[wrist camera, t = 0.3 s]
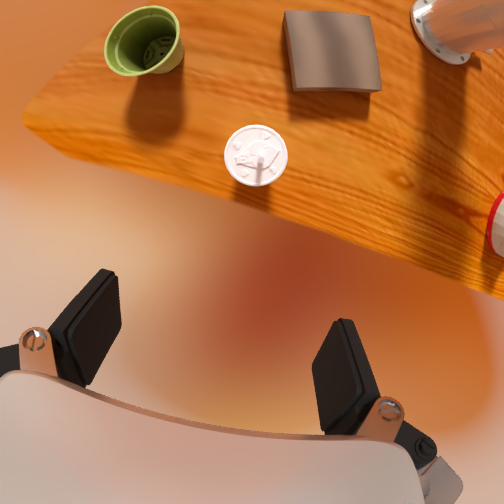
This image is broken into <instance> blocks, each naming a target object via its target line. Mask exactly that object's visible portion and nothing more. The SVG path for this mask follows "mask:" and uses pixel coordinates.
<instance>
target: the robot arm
mask: <svg viewBox="0 0 504 504" xmlns="http://www.w3.org/2000/svg"><path fill="white" fill-rule="evenodd" d="M411 21H412V24H413V27H414V30H415V32H416V33H417V35H418V37H419V38H420V40H421V41H422V43H423V44H424V45H425V46H426V48H427V49H428V50H429V51H430V52H431V53H432V54H433V55H435V56H436V57H437V58H439V59H440V60H442V61H444V62H446V63H449V64H453V65H458V64H463V63H465V62H467V61H468V59H469V58H470V56H471V53H472V52H478V51H483V52H485V53H487V54H491V53H492V49H497V48H504V0H417V1H416V2H415V3H414V4H413V5H412V7H411ZM121 323H122V322H121V312H120V300H119V286H118V277H117V276H115V273H114V272H113V271H109V270H106V269H101V270H99V272H98V273H97V274H96V275H95V276H94V277H93V278H92V279H91V280H90V281H89V282H88V283H87V285H86V286H85V287H84V288H83V289H82V290H81V291H80V293H79V294H78V295H76V296H75V298H74V299H73V300H72V301H71V302H70V303H69V305H68V306H67V307H66V308H65V309H64V310H63V312H62V313H61V314H60V315H59V316H58V318H57V319H56V320H55V321H54V323H53V324H52V325H51V326H50V327H49V329H48V330H45V329H44V328H40V327H32V328H29V329H27V330H26V331H25V332H23V333H22V335H21V337H20V339H19V344H15V345H11V346H7V347H2V348H0V504H454V503H455V501H456V500H457V499H458V497H459V496H460V494H461V492H462V490H463V482H462V480H461V478H460V477H459V476H458V475H457V474H456V473H455V472H454V470H453V469H452V468H451V467H450V466H449V465H448V464H447V463H446V461H445V460H444V459H443V458H442V457H441V456H439V457H437V456H436V455H437V447H436V444H435V443H434V441H433V440H432V439H431V438H430V437H428V436H427V435H425V434H424V433H422V432H420V431H419V430H418V429H416V428H415V427H413V426H412V425H410V424H409V423H407V422H406V421H404V420H403V419H404V409H403V407H402V406H401V404H400V403H399V402H398V401H397V400H395V399H393V398H391V397H386V396H385V397H381V396H380V393H379V390H378V387H377V384H376V381H375V378H374V375H373V373H372V370H371V367H370V364H369V361H368V359H367V356H366V354H365V351H364V348H363V346H362V343H361V340H360V338H359V335H358V333H357V330H356V327H355V325H354V322H353V321H352V320H349V319H342V318H340V319H338V321H334V323H333V324H332V326H331V328H330V330H329V333H328V334H327V336H326V338H325V340H324V342H323V344H322V346H321V348H320V350H319V351H318V353H317V356H316V357H315V359H314V361H313V363H312V373H313V380H314V386H315V392H316V399H317V405H318V412H319V418H320V426H321V430H322V431H324V432H325V435H305V434H284V433H270V432H260V431H251V430H243V429H235V428H228V427H222V426H216V425H211V424H205V423H200V422H195V421H190V420H186V419H181V418H177V417H173V416H169V415H165V414H161V413H158V412H154V411H150V410H147V409H143V408H140V407H136V406H134V405H130V404H127V403H124V402H121V401H119V400H116V399H113V398H110V397H107V396H105V395H102V394H99V393H96V392H94V391H91V390H88V389H86V388H85V387H86V385H90V384H91V382H92V381H93V379H94V377H95V375H96V373H97V371H98V369H99V367H100V365H101V364H102V362H103V360H104V358H105V356H106V354H107V353H108V351H109V349H110V347H111V345H112V344H113V342H114V340H115V338H116V337H117V335H118V333H119V331H120V329H121V325H122V324H121Z"/></svg>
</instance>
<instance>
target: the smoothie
mask: <svg viewBox="0 0 504 504" xmlns="http://www.w3.org/2000/svg"><path fill="white" fill-rule="evenodd" d="M287 157H288V155H287V148H286V145H285V143H284V141H283V139H282V138H281V136H280V135H279V134H278V133H277V132H275V131H274V130H273V129H271V128H268V127H266V126H262V125H249V126H246V127H243V128H241V129H239V130H238V131H236V132H235V133H234V134H233V135H232V136H231V137H230V139H229V140H228V142H227V144H226V147H225V152H224V160H225V164H226V167H227V169H228V171H229V173H230V174H231V175H232V176H233V177H234V178H235V179H236V180H237V181H239V182H241V183H243V184H245V185H249V186H264V185H267V184H269V183H271V182H273V181H275V180H276V179H277V178H278V177H279V176H280V175H281V174H282V173H283V171H284V169H285V167H286V164H287Z"/></svg>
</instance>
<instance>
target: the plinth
mask: <svg viewBox="0 0 504 504" xmlns="http://www.w3.org/2000/svg"><path fill="white" fill-rule="evenodd" d="M283 26H284V32H285V39H286V45H287V52H288V59H289V66H290V73H291V81H292V89H293V92H305V91H342V92H364V93H373V92H377V91H381V90H382V84H381V76H380V69H379V62H378V56H377V50H376V45H375V39H374V34H373V30H372V25H371V21H370V16H365V15H357V14H349V13H339V12H326V11H285V13H284V18H283Z"/></svg>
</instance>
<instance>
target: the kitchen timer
mask: <svg viewBox="0 0 504 504" xmlns="http://www.w3.org/2000/svg"><path fill="white" fill-rule="evenodd" d="M487 239H488V244H489V246H490V247H491V249H492V250H494V251H495V252H496V253H498V254H499V255H501V256H503V257H504V191H503V192H502V193H500V195H499V196H498V197H497V199H496V200H495V202H494V204H493V206H492V208H491V211H490V214H489V218H488V224H487Z"/></svg>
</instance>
